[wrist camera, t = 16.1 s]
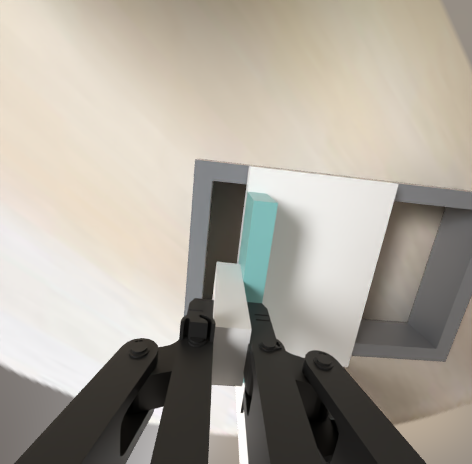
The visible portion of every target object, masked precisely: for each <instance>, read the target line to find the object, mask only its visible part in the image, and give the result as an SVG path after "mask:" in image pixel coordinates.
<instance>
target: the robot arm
mask: <svg viewBox="0 0 472 464" xmlns="http://www.w3.org/2000/svg"><path fill="white" fill-rule="evenodd" d="M243 379H244V384H245V388H244V394H243V400H242V406H241V412H240V413H243V412H244V416H245V428H246V440H247V452H248V464H426V463H425V461H424V460H423V459H422V458H421V457H420V456H419V454H418V453H417V452H416V451H415V450H414V449H413V448H412V446H411V445H410V444H409V443H408V442H407V441H406V439H405V438H404V437H403V436H402V435H401V434H400V433H399V431H398V430H397V429H396V428H395V427H394V426H393V424H392V423H391V422H390V421H389V420H388V419H387V417H386V416H385V415H384V414H383V413H382V412H381V411H380V409H379V408H378V407H377V406H376V405H375V404H374V402H373V401H372V400H371V399H370V398H369V397H368V395H367V394H366V393H365V392H364V391H363V390H362V389H361V387H360V386H359V385H358V384H357V383H356V382H355V380H354V379H353V378H352V377H351V376H350V375H349V373H348V372H347V371H346V370H345V369H344V368H343V367H342V365H341V364H340V363H339V362H338V361H337V360H336V359H335V358H334V357H333V356H331V355H329V354H328V353H326V352H322V351H318V350H312V351H309V352H308V353H307V354H306V355H305V358H303V357H300V356H296V355H293V354H291V353H289V352H287V351H286V350H285V347H284V345H283V344H282V343H281V342H280V341H279V340H278V339H276V336H275V333H274V329H273V326H272V323H271V319H270V316H269V313H268V309H267V308H266V307H265V306H264V305H263V304H262V303H253V302H247V300H246V294H245V288H244V282H243V278H242V272H241V266H240V264H235V263H225V262H217V264H216V273H215V281H214V290H213V298H212V300H211V299H200V298H194V299H193V300H192V301H191V302H190V303H189V307H188V311H187V315H186V316H184V317H183V318H182V320H181V325H180V337H179V340H178V341H177V342H175V343H174V344H171V345H168V346H164V347H158V345H157V344H156V343H155V342H154V341H152V340H150V339H144V338H140V339H134V340H131V341H129V342H127V343H126V344H124V345H123V346H122V347H121V348H120V349H119V350H118V351H117V352H116V353H115V355H114V356H113V357H112V358H111V359H110V360H109V361H108V362H107V363H106V364H105V365H104V367H103V368H102V369H101V370H100V371H99V372H98V373H97V374H96V375H95V376H94V377H93V379H92V380H91V381H90V382H89V383H88V384H87V385H86V386H85V387H84V388H83V389H82V390H81V392H80V393H79V394H78V395H77V396H76V397H75V398H74V399H73V400H72V401H71V402H70V404H69V405H68V406H67V407H66V408H65V409H64V410H63V411H62V412H61V414H59V416H58V417H57V418H56V419H55V420H54V421H53V422H52V423H51V424H50V425H49V426H48V428H47V429H46V430H45V431H44V432H43V433H42V434H41V435H40V436H39V437H38V438H37V439H36V441H35V442H34V443H33V444H32V445H31V446H30V447H29V448H28V449H27V450H26V452H25V453H24V454H23V455H22V456H21V457H20V458H19V459H18V460H17V461H16V463H14V464H126V462H127V460H128V458H129V456H130V454H131V453H132V451H133V449H134V447H135V445H136V443H137V442H138V440H139V437H140V436H141V434H142V432H143V430H144V429H145V427H146V425H147V423H148V421H149V420H150V418H151V416H152V414H153V412H154V409H155V408H159V407H163V406H164V407H163V412H162V416H161V420H160V425H159V429H158V433H157V438H156V442H155V446H154V450H153V455H152V459H151V463H150V464H208V451H209V450H208V449H209V430H210V407H211V385H226V386H242V385H243Z"/></svg>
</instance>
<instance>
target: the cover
mask: <svg viewBox="0 0 472 464" xmlns="http://www.w3.org/2000/svg"><path fill="white" fill-rule="evenodd" d="M398 185H399V184H396V183H390V182H381V181H373V180H364V179H356V178H347V177H339V176H330V175H322V174H313V173H305V172H296V171H288V170H279V169H271V168H262V167H254V166H249V170H248V178H247V186H246V194H245V202H244V210H243V218H242V226H241V234H240V242H239V250H238V258H237V264H240V266H241V272H242V278H243V282H244V288H245V294H246V300H247V302H253V303H262V304H263V305H264V306H265V307H266V308H267V309H268V313H269V316H270V319H271V323H272V326H273V329H274V333H275V336H276V339H278V340H279V341H280V342H281V343H282V344H283V345H284V347H285V350H286V351H287V352H289V353H291V354H293V355H296V356H300V357H303V358H305V355H306V354H307V353H308V352H309V351H312V350H318V351H322V352H326V353H328V354H329V355H331V356H333V357H334V358H335V359H336V360H337V361H338V362H339V363H340V364H341V365H342V367H348V366H349V362H350V358H351V355H352V351H353V347H354V344H355V340H356V337H357V333H358V329H359V326H360V322H361V319H362V315H363V311H364V308H365V304H366V300H367V297H368V293H369V290H370V286H371V282H372V279H373V275H374V272H375V268H376V264H377V261H378V257H379V253H380V250H381V246H382V243H383V239H384V235H385V232H386V228H387V225H388V221H389V217H390V214H391V210H392V206H393V203H394V199H395V196H396V192H397V188H398ZM243 383H244V379H243Z"/></svg>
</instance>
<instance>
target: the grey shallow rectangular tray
mask: <svg viewBox="0 0 472 464" xmlns="http://www.w3.org/2000/svg"><path fill="white" fill-rule="evenodd" d="M249 166H254V167H262V168H271V169H279V170H288V171H296V172H305V171H297V170H289V169H280V168H272V167H263V166H255V165H246V164H238V163H229V162H221V161H212V160H204V159H195V169H194V184H193V198H192V212H191V226H190V240H189V254H188V268H187V282H186V296H185V310H184V316H186V315H187V311H188V307H189V303H190V302H191V301H192V300H193V299H194V298H200V299H203V292H204V281H205V270H206V259H207V248H208V237H209V226H210V216H211V205H212V194H213V183H214V181H220V182H229V183H238V184H247V178H248V170H249ZM305 173H313V174H322V173H314V172H305ZM322 175H330V176H339V175H331V174H322ZM339 177H347V178H356V177H348V176H339ZM356 179H364V180H373V179H365V178H356ZM373 181H381V182H390V181H382V180H373ZM390 183H396V184H399V185H398V188H397V192H396V196H395V199H394V201H398V202H407V203H416V204H425V205H434V206H443V207H445V211H444V214H443V217H442V220H441V223H440V226H439V229H438V232H437V235H436V238H435V241H434V244H433V247H432V250H431V253H430V256H429V259H428V262H427V265H426V268H425V271H424V274H423V277H422V280H421V283H420V286H419V289H418V292H417V295H416V298H415V301H414V304H413V307H412V310H411V313H410V316H409V319H408V322H407V323H406V322H393V321H380V320H366V319H361V322H360V326H359V329H358V333H357V337H356V340H355V344H354V347H353V351H352V355H351V356H364V357H380V358H395V359H411V360H427V361H443V362H445V361H446V359H447V356H448V354H449V351H450V349H451V346H452V344H453V341H454V339H455V336H456V333H457V331H458V328H459V326H460V323H461V321H462V318H463V316H464V313H465V311H466V308H467V305H468V303H469V300H470V298H471V295H472V191H466V190H458V189H450V188H441V187H433V186H424V185H416V184H407V183H399V182H390Z"/></svg>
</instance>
